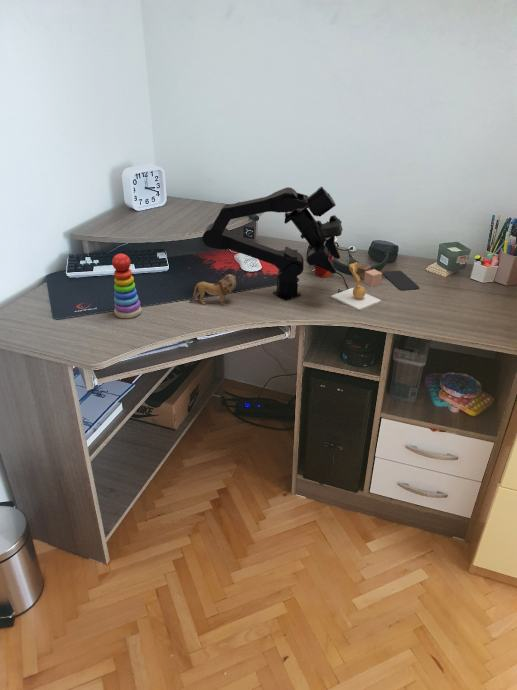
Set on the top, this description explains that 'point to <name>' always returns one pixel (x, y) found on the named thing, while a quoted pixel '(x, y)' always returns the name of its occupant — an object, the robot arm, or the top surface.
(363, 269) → the walnut block
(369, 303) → the mat
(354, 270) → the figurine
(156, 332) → the top surface
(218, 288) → the lion figurine
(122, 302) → the stacking toy
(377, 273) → the terracotta block
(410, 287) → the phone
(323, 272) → the paper cup
